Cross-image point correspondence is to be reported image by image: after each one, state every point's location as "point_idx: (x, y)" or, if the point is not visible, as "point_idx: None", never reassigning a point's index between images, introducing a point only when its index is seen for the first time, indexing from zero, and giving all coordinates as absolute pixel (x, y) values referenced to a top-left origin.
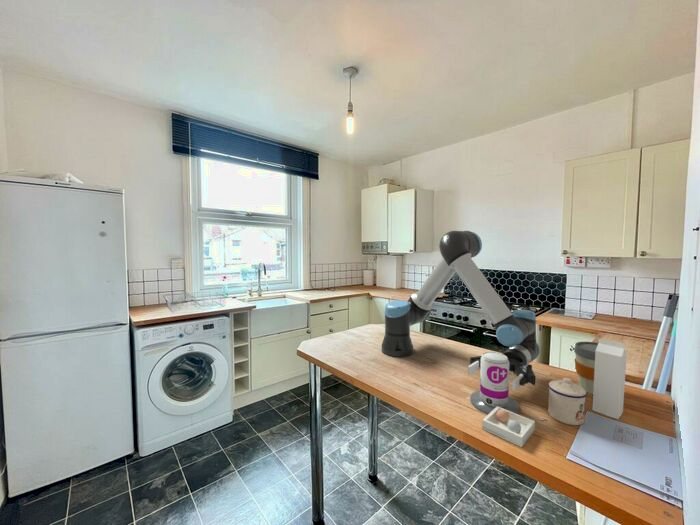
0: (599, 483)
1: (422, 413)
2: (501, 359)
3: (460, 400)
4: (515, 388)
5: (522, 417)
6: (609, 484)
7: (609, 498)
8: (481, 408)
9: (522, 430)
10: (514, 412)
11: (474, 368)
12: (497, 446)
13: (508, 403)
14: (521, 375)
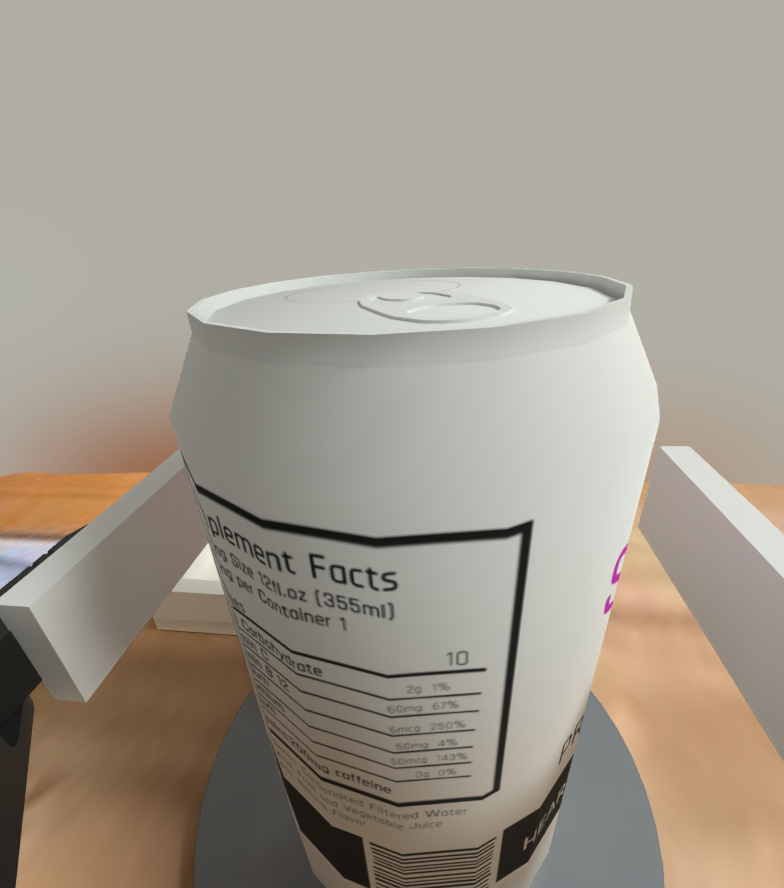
0: (47, 504)
1: None
2: (294, 296)
3: (618, 649)
4: None
5: (207, 580)
6: (14, 513)
7: (58, 480)
8: None
9: None
10: (249, 701)
11: (703, 569)
12: None
13: (294, 837)
14: (47, 562)
